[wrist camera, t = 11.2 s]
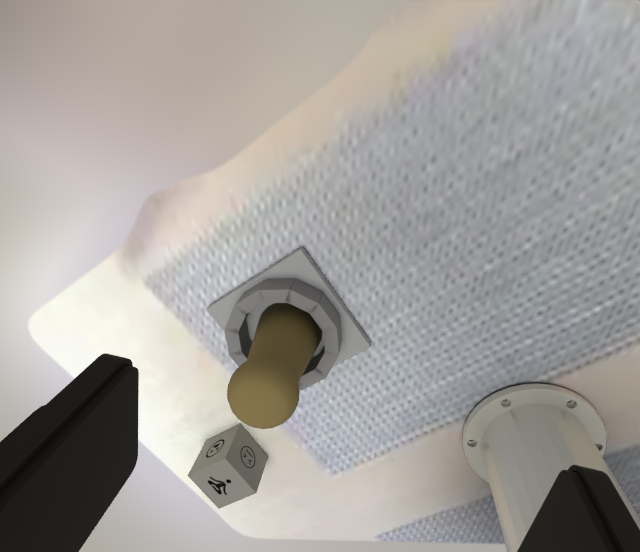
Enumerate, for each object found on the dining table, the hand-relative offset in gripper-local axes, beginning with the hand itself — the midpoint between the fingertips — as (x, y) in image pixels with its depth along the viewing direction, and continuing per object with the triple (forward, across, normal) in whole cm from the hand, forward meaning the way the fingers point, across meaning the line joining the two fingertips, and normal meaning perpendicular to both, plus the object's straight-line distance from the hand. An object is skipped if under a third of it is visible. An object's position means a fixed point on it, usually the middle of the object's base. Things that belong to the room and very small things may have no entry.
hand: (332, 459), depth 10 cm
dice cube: (+29, +8, +30) cm, 43 cm away
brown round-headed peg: (+28, +5, +14) cm, 31 cm away
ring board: (+28, +5, +13) cm, 32 cm away
